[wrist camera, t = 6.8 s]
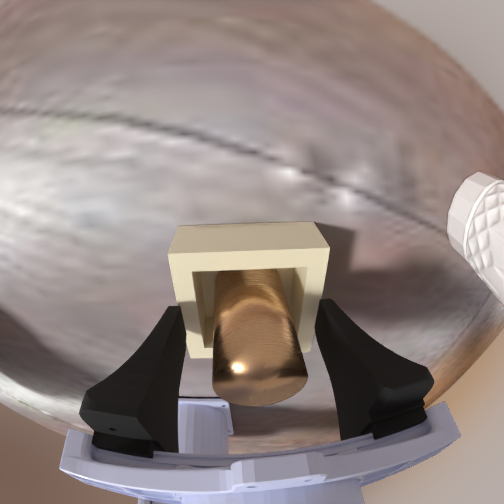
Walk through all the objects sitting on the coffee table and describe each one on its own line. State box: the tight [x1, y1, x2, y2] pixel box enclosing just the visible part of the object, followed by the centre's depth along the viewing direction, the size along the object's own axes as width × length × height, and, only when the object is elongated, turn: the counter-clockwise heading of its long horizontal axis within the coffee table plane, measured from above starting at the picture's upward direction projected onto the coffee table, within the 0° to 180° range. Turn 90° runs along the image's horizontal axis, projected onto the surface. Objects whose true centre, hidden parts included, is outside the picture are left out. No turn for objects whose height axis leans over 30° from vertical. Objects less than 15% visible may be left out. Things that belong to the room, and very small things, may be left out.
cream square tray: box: [168, 222, 330, 358], centre depth 15 cm, size 8×8×3 cm
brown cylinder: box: [212, 268, 308, 406], centre depth 13 cm, size 4×4×7 cm
